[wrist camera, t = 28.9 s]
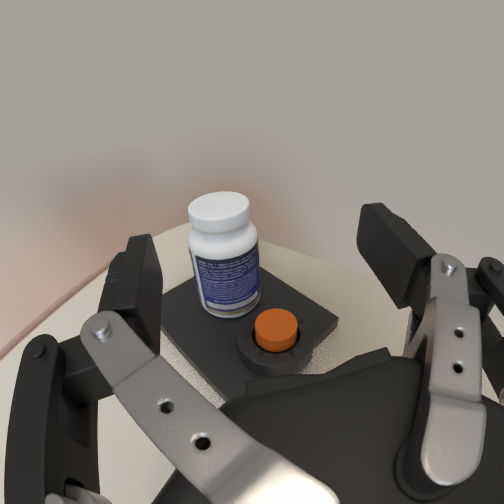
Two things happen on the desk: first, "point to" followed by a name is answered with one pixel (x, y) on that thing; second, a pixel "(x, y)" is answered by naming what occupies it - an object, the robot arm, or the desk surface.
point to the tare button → (276, 330)
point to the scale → (241, 335)
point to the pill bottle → (224, 253)
